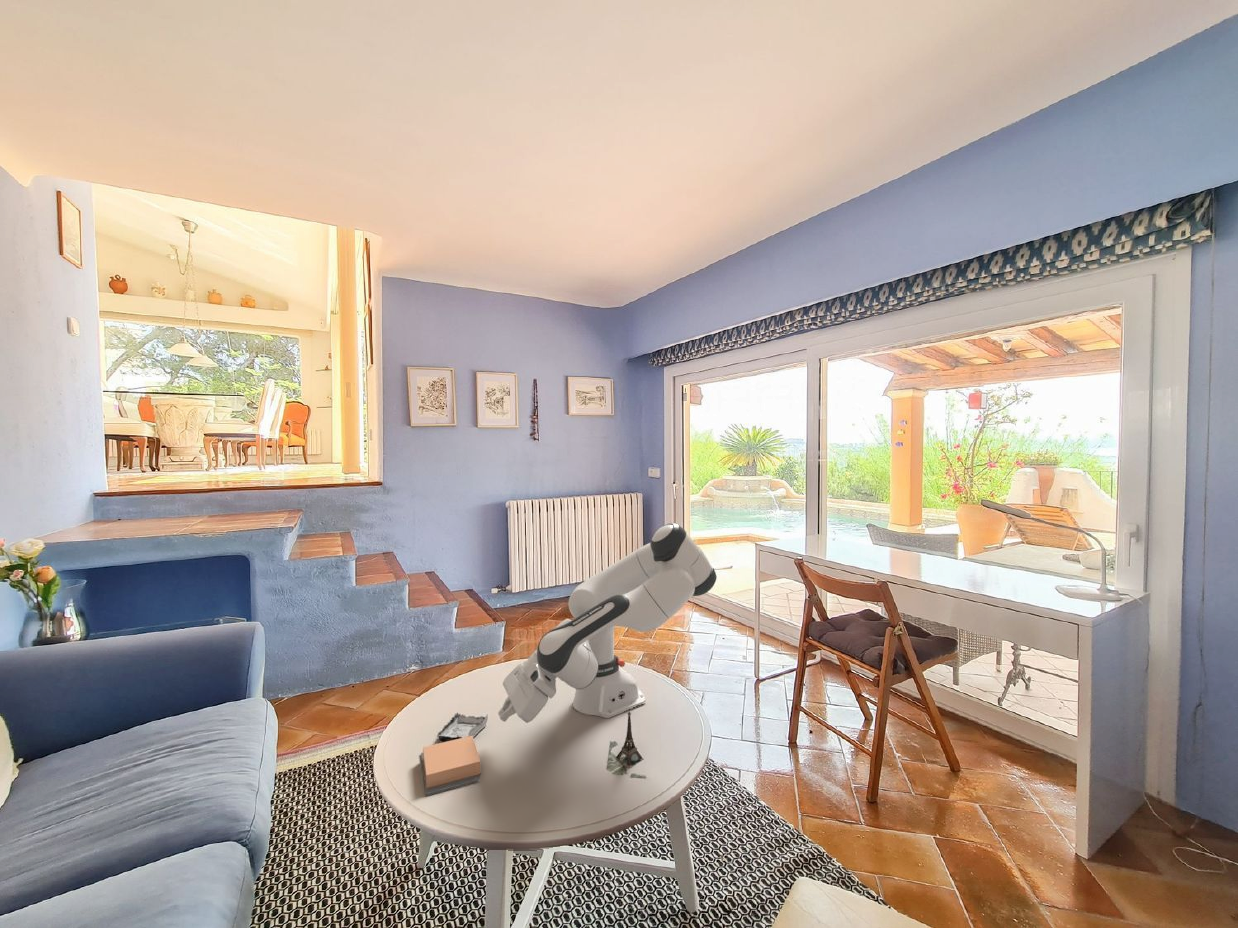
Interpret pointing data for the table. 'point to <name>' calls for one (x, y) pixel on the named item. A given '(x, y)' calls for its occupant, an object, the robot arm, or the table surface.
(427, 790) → the mat
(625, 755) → the eiffel tower figurine
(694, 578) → the robot arm
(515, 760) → the table surface
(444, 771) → the orange block
